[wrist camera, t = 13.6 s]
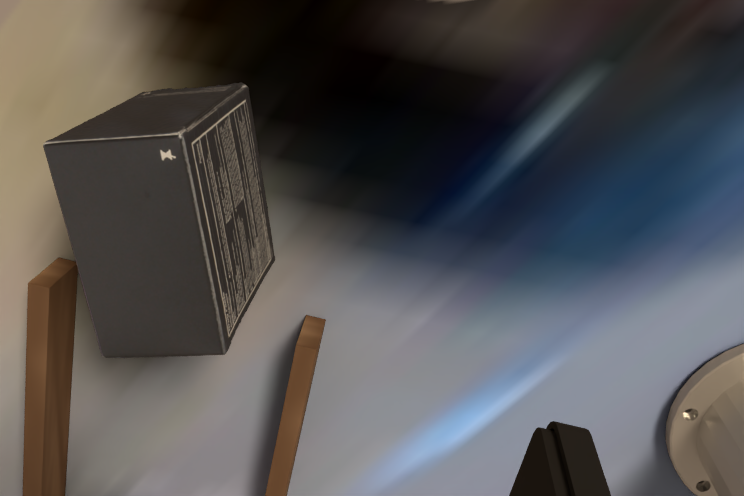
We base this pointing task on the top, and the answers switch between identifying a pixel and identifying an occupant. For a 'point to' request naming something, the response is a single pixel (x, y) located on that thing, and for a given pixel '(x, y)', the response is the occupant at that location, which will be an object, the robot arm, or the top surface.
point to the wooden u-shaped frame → (54, 376)
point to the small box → (166, 219)
